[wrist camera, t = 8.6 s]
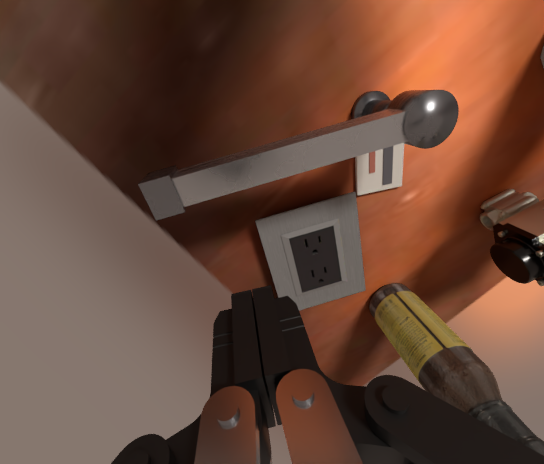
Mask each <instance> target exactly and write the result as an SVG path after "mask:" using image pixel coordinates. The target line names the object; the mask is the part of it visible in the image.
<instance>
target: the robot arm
mask: <svg viewBox="0 0 544 464" xmlns="http://www.w3.org/2000/svg"><path fill="white" fill-rule="evenodd" d="M252 292H253V296H252ZM252 292H251V290H248V291H243V292H239V293H235V294H232V296H231V299H232V309H228V310H224V311H220V312H219V315H218V316H217V318H216V320H215V322H214V329H213V331H214V332H213V337H214V338H213V353H212V354H213V355H212V379H211V394H210V398H209V400H208V401H207V403H206V404H205V406H204V408H203V411H202V413H201V415H200V416H199V417H198V418H197V419H196V420H195V421H194V422H193V423H192V424H190V425H189V426H187V427H186V428H184V429H183V430H181V431H179V432H178V433H176V434H175V435H173V436H171V437H170V438H168V439H167V440H165V439H164V438H162V437H161V436H159V435H156V434H148V435H144V436H141V437H139V438H137V439H135V440H134V441H132V442H131V443H130V444H128V445H127V446H126V447H125V448H124V449H123V450H122V451H121V452H120V453H119V455H118V456H117V457H116V458H115V459H114V461H113V462H112V463H111V464H272V458H271V445H270V438H269V430H268V428H270V427H274V426H275V419H274V412H275V416H276V420H277V424H278V425H281V424H282V425H283V429H284V433H285V437H286V441H287V445H288V449H289V453H290V457H291V461H292V464H544V456H543V455H542V454H540V453H538V452H536V451H534V450H532V449H531V448H529V447H527V446H525V445H523V444H522V443H520V442H518V441H516V440H514V439H512V438H511V437H509V436H507V435H505V434H503V433H501V432H500V431H498V430H496V429H494V428H492V427H491V426H489V425H487V424H485V423H483V422H481V421H480V420H478V419H476V418H474V417H472V416H471V415H469V414H467V413H465V412H463V411H461V410H460V409H458V408H456V407H454V406H452V405H451V404H449V403H447V402H445V401H443V400H441V399H440V398H438V397H436V396H434V395H432V394H431V393H429V392H427V391H425V390H423V389H421V388H420V387H418V386H416V385H414V384H412V383H410V382H409V381H407V380H405V379H403V378H400V377H397V376H392V375H383V376H379V377H376V378H374V379H373V380H372V381H370V382H369V384H368V385H367V387H364V386H352V385H344V384H340V383H337V382H335V381H332V380H331V379H329V378H328V377H327V376H326V375H324V373H323V372H322V371H321V370H320V368H319V366H318V364H317V361H316V358H315V356H314V353H313V350H312V347H311V344H310V341H309V338H308V335H307V332H306V330H305V327H304V324H303V321H302V318H301V315H300V312H299V309H298V307H297V304H296V303H295V302H294V301H293V300H292V299H291V298H290V297H289V296H284V297H280V298H275V299H274V295H273V291H272V287H271V285H269V286H265V287H261V288H256V289H252ZM253 299H254V300H253ZM272 405H273V406H272ZM273 409H274V412H273Z"/></svg>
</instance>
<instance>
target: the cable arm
mask: <svg viewBox="0 0 544 464" xmlns="http://www.w3.org/2000/svg"><path fill="white" fill-rule="evenodd" d="M457 118H458V104H457V101H456V99H455V97H454V96H453V95H452V94H451V93H450V92H448V91H445V90H412V91H405V92H403V93H401V94H399V95H398V96H396V97H395V98H394V99H393V100H392V101H391V103H390V104H389V106H388V107H387V110H383V111H380V112H376V113H373V114H369V115H366V116H362V117H359V118H355V119H352V120H348V121H345V122H341V123H338V124H335V125H331V126H328V127H324V128H321V129H317V130H314V131H310V132H307V133H303V134H300V135H296V136H293V137H289V138H286V139H283V140H279V141H276V142H272V143H269V144H265V145H262V146H258V147H255V148H251V149H248V150H244V151H241V152H237V153H234V154H231V155H227V156H224V157H220V158H217V159H213V160H210V161H206V162H203V163H199V164H196V165H192V166H189V167H186V168H182V169H179V170H178V169H177V167H176V165H175V166H171V167H168V168H165V169H161V170H158V171H154V172H151V173H148V174H147V175H146V176H145V178H144V179H143V180H142V181H141V182H140V183H139V184H138V185H139V187H140V189H141V191H142V193H143V195H144V197H145V199H146V201H147V203H148V205H149V207H150V209H151V211H152V213H153V215H154V217H155V219H156V220H160V219H163V218H167V217H170V216H174V215H177V214H180V213H184V212H185V211H186V208H187V206H189V205H192V204H196V203H199V202H203V201H206V200H210V199H213V198H216V197H220V196H223V195H227V194H230V193H233V192H237V191H240V190H244V189H247V188H251V187H254V186H257V185H261V184H264V183H268V182H271V181H275V180H278V179H281V178H285V177H288V176H292V175H295V174H298V173H302V172H305V171H309V170H312V169H316V168H319V167H322V166H326V165H329V164H333V163H336V162H340V161H343V160H346V159H350V158H353V157H357V156H360V155H363V154H367V153H370V152H374V151H377V150H381V149H384V148H387V147H391V146H394V145H398V144H401V143H404V144H408V145H412V146H415V147H419V148H432V147H435V146H437V145H439V144H440V143H442V142H443V141H444V140H445V139H446V138H447V137H448V136H449V135H450V134H451V132H452V131H453V129H454V127H455V125H456V122H457Z"/></svg>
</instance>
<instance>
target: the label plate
mask: <svg viewBox="0 0 544 464" xmlns="http://www.w3.org/2000/svg"><path fill="white" fill-rule="evenodd" d="M403 156H404V143H401V144H398V145H394V146H391V147H387V148H384V149H381V150H377V151H374V152H370V153H367V154H363V155H360V156H357V157H355V175H356V195H357V196H358V195H363V194H367V193H372V192H377V191H381V190H386V189H390V188H395V187H400V186H402V173H403Z"/></svg>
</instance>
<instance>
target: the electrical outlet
mask: <svg viewBox="0 0 544 464" xmlns="http://www.w3.org/2000/svg"><path fill="white" fill-rule="evenodd" d="M255 222H256V226H257V229H258V232H259V235H260V239H261V242H262V245H263V249H264V252H265V255H266V258H267V262H268V265H269V268H270V272H271V275H272V278H273V282H274V285H275V288H276V291H277V295H278V298H280V297H284V296H289V297H290V298H291V299H292V300H293V301H294V302H295V303H296V304H297V307H298V309H299V310H302V309H306V308H309V307H312V306H315V305H319V304H322V303H325V302H329V301H332V300H335V299H339V298H342V297H345V296H349V295H352V294H355V293H359V292H362V291H365V280H364V270H363V260H362V251H361V241H360V231H359V221H358V211H357V202H356V192H351V193H348V194H344V195H341V196H338V197H334V198H331V199H327V200H324V201H320V202H317V203H314V204H310V205H307V206H303V207H300V208H296V209H293V210H289V211H286V212H283V213H279V214H276V215H272V216H269V217H265V218H262V219H259V220H255Z"/></svg>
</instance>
